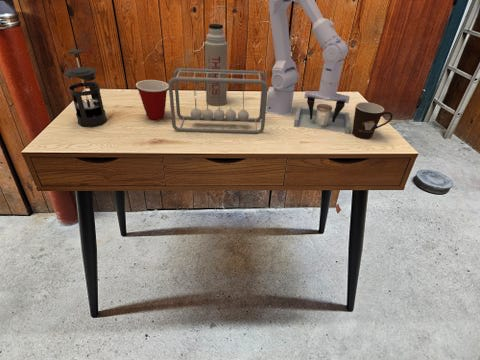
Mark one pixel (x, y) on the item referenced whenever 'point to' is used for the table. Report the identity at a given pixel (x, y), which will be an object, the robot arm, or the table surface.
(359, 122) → the coffee mug
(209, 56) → the thermos bottle
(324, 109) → the cylinder with tab
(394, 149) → the table surface
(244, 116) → the newton's cradle
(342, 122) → the caddy
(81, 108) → the french press
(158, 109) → the plastic cup
